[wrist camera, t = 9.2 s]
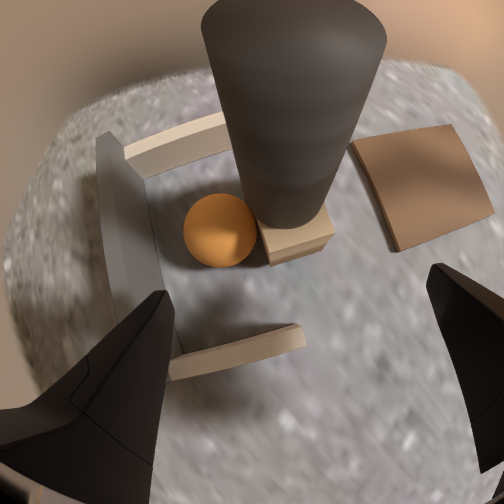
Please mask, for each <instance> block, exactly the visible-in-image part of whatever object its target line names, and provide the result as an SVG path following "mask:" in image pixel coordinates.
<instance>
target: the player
mask: <svg viewBox="0 0 504 504" xmlns="http://www.w3.org/2000/svg"><path fill="white" fill-rule="evenodd" d="M201 31H202V35H203V38H204V42H205V46H206V50H207V53H208V57H209V61H210V65H211V69H212V72H213V76H214V80H215V84H216V88H217V91H218V95H219V99H220V103H221V107H222V110H223V114H224V118H225V122H226V126H227V130H228V133H229V137H230V141H231V145H232V149H233V153H234V157H235V161H236V164H237V168H238V172H239V176H240V180H241V184H242V188H243V192H244V196H245V200H246V203H247V206H248V208H249V210H250V211H251V213H252V214H253V215H254V216H255V219H256V222H257V226H258V229H259V232H260V235H261V238H262V241H263V245H264V248H265V251H266V254H267V257H268V261H269V264H270V267H271V266H274V265H278V264H281V263H284V262H287V261H291V260H294V259H297V258H300V257H303V256H306V255H310V254H313V253H316V252H319V251H321V250H322V249H323V247H324V246H325V245H326V244H327V242H328V241H329V240H330V238H331V237H332V236H333V235H334V233H335V231H334V229H333V226H332V223H331V221H330V218H329V215H328V213H327V210H326V208H325V205H324V200H325V198H326V196H327V193H328V191H329V189H330V186H331V184H332V182H333V179H334V177H335V175H336V172H337V170H338V168H339V165H340V163H341V161H342V158H343V156H344V153H345V151H346V149H347V146H348V144H349V141H350V139H351V136H352V134H353V132H354V129H355V127H356V124H357V122H358V119H359V116H360V114H361V111H362V109H363V106H364V104H365V101H366V99H367V96H368V93H369V91H370V88H371V85H372V83H373V80H374V77H375V75H376V72H377V69H378V66H379V64H380V61H381V58H382V55H383V53H384V50H385V46H386V43H387V36H386V32H385V29H384V27H383V25H382V24H381V22H380V21H379V19H378V18H377V17H376V16H375V15H374V14H373V13H372V12H371V11H369V10H368V9H367V8H366V7H364V6H363V5H361V4H360V3H358V2H356V1H354V0H219V1H217V2H216V3H214V4H213V5H212V6H211V7H210V8H209V9H208V10H207V11H206V13H205V15H204V16H203V19H202V22H201Z"/></svg>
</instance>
